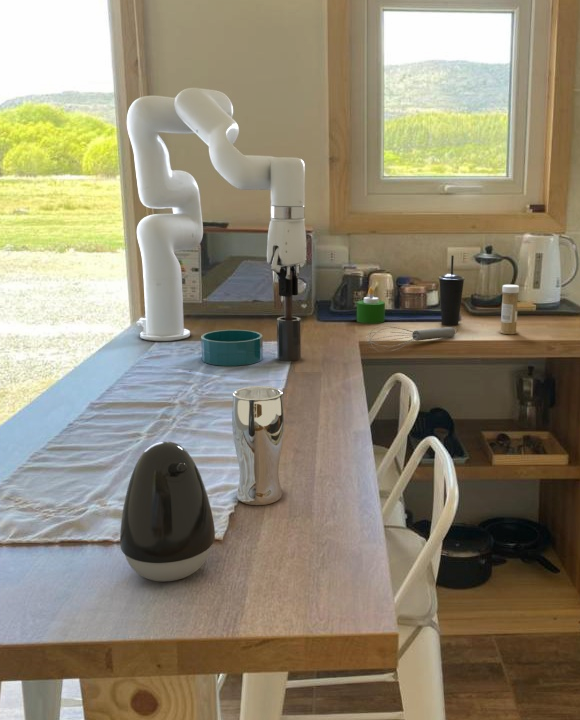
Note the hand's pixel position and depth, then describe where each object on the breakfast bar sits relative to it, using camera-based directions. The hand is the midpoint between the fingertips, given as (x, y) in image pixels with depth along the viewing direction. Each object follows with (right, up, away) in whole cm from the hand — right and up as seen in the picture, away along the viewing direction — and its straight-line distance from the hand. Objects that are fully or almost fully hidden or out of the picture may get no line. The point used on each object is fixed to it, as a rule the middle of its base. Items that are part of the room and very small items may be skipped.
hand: (288, 294), depth 185 cm
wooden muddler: (0, -15, +4) cm, 15 cm away
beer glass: (+5, -34, -73) cm, 81 cm away
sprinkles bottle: (+56, -8, +40) cm, 70 cm away
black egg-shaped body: (-2, -39, -94) cm, 101 cm away
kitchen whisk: (+29, -11, +23) cm, 39 cm away
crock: (0, -15, +4) cm, 16 cm away
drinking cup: (+41, -5, +52) cm, 66 cm away
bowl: (-13, -15, +2) cm, 20 cm away
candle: (+18, -4, +54) cm, 57 cm away
